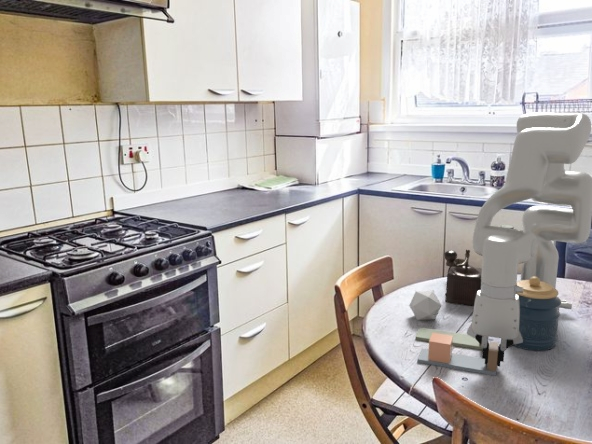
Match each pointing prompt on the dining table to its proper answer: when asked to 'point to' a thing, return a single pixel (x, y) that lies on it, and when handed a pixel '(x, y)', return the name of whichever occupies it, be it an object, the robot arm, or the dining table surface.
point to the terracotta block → (440, 347)
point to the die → (425, 305)
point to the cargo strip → (467, 361)
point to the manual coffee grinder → (462, 280)
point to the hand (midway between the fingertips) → (492, 362)
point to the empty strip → (458, 338)
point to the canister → (538, 314)
